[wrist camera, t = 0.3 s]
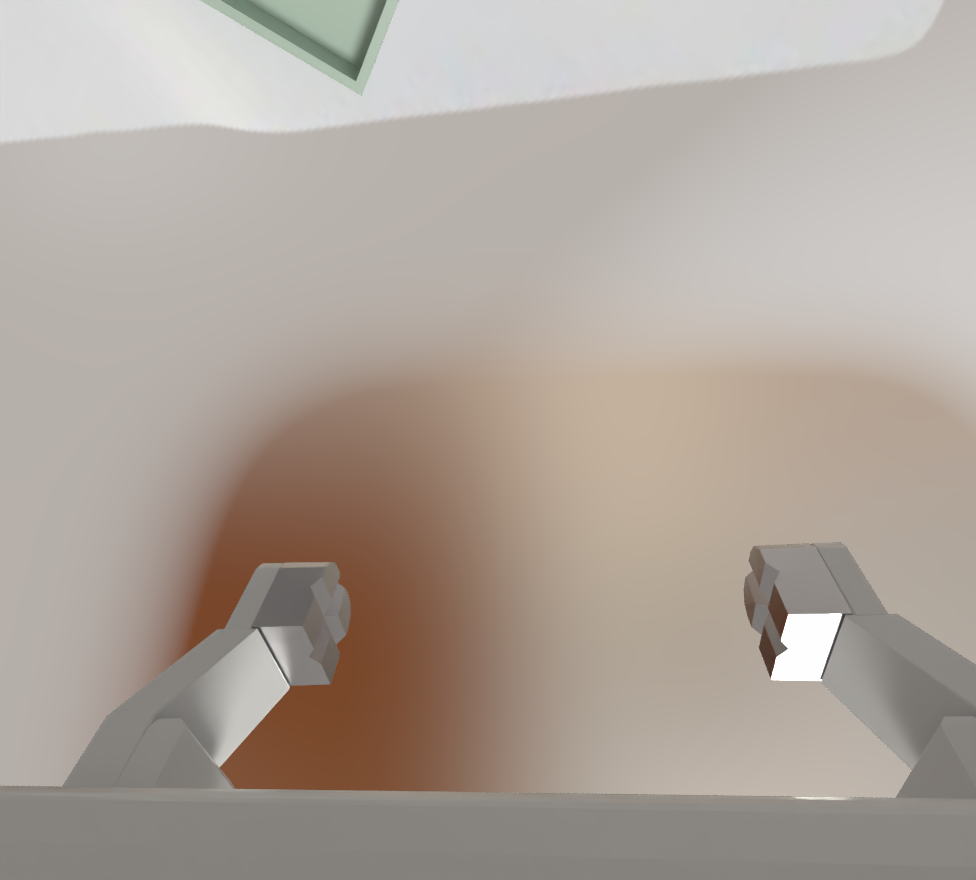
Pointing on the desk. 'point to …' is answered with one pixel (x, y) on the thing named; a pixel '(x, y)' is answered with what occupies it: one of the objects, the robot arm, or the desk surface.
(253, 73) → the desk surface
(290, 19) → the sage tray
